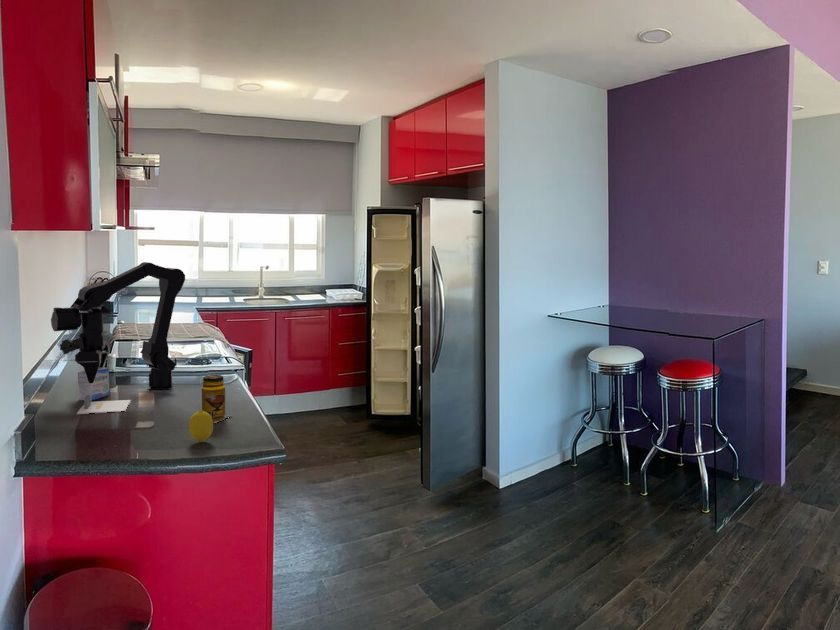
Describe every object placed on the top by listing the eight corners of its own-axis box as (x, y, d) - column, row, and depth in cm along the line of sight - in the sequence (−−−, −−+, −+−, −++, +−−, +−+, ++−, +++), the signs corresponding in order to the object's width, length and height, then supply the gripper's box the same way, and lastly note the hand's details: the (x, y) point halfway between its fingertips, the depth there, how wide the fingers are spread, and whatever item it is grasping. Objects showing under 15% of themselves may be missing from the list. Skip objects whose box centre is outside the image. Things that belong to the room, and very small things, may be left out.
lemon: (192, 438, 148) (192, 406, 147) (215, 438, 149) (215, 407, 148) (186, 446, 143) (185, 413, 142) (210, 446, 143) (209, 413, 142)
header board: (131, 401, 180) (130, 390, 180) (125, 411, 169) (124, 400, 168) (86, 403, 176) (85, 391, 176) (76, 414, 165) (76, 402, 165)
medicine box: (91, 401, 178) (90, 372, 177) (78, 400, 179) (77, 371, 178) (110, 395, 186) (109, 367, 185) (97, 394, 187) (96, 366, 186)
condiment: (216, 424, 160) (215, 380, 159) (189, 420, 163) (189, 377, 162) (232, 417, 167) (232, 374, 166) (206, 413, 170) (206, 371, 168)
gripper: (69, 324, 187) (71, 374, 188) (53, 333, 169) (56, 388, 171) (109, 324, 190) (110, 372, 192) (98, 333, 173) (99, 386, 174)
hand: (94, 379), depth 182 cm, fingers open, 9 cm apart
